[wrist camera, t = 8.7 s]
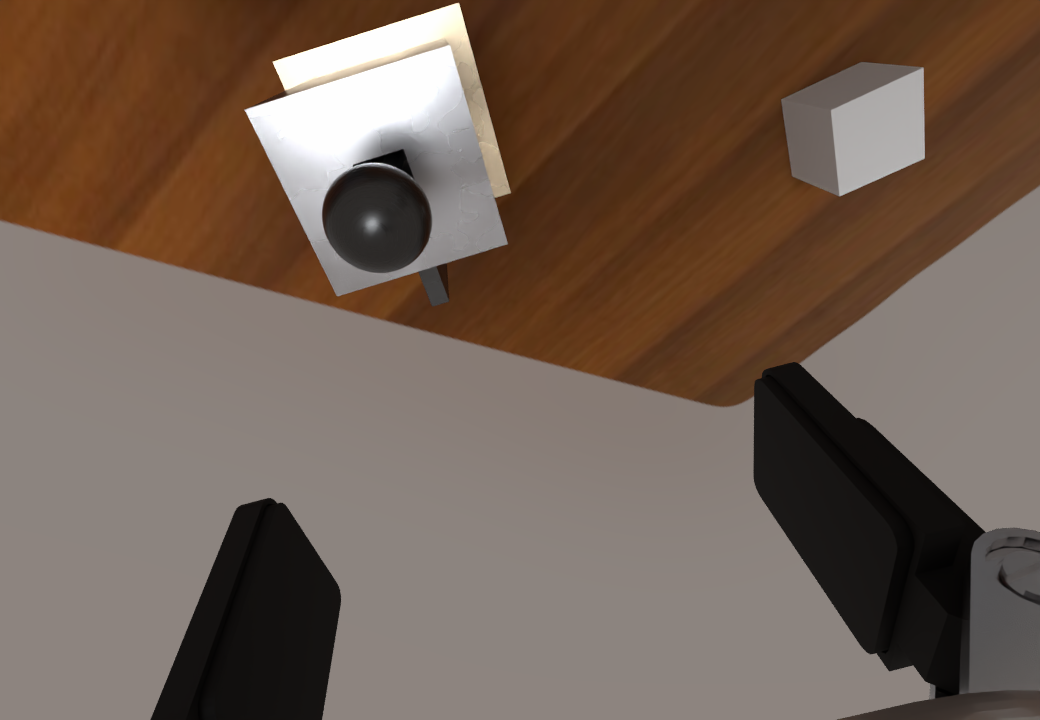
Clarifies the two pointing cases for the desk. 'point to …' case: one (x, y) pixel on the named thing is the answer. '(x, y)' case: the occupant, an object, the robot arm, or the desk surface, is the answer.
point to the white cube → (856, 126)
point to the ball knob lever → (377, 214)
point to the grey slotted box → (390, 137)
